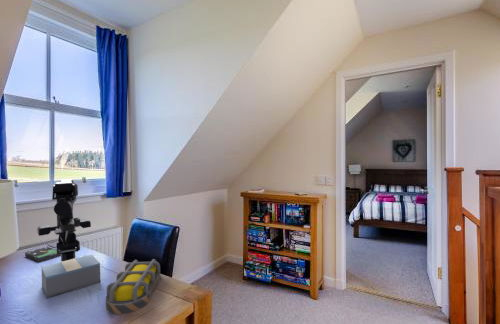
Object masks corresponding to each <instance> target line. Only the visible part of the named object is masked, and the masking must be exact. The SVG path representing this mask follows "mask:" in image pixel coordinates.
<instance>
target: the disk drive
mask: <svg viewBox="0 0 500 324" xmlns="http://www.w3.org/2000/svg"><path fill="white" fill-rule="evenodd" d="M24 256H26V257H25V258H27V257H29V258H28V259H30V258H31V259H30V260H32V261H34V262H37V263H40V262H44V261H47V260H50V258H51V259H55V258H57V256H58V257H61V254H59V255H57V249H55V248H52V247H49V246H45V247H41V248H37V249H35V250H32V251H27V252H26V251H25V252H24Z"/></svg>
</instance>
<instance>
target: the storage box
mask: <svg viewBox="0 0 500 324" xmlns="http://www.w3.org/2000/svg"><path fill="white" fill-rule="evenodd" d="M100 282H101V265H100V266H96V267H93V268H89V269H85V270H81V271H78V272H74V273H70V274H66V275H63V276H59V277H55V278H51V279H48V280H46V279H45V276H44V274H43V271H42V270H41V287H42V290H43V293H44V295H45V298H46V299H51V298H53V297H56V296H59V295H62V294H66V293H68V292H69V293H70V292H73V291H75V290H78V289H79V290H80V289H83V288H85V287H89V286H93V285H95V284H98V283H100Z"/></svg>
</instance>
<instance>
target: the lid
mask: <svg viewBox="0 0 500 324" xmlns="http://www.w3.org/2000/svg"><path fill="white" fill-rule="evenodd" d="M96 266H100V267H101V263H100V261H98V259H97V258H96V257H95V256H94V255H93V254H89V255H85V256H80V257H75V259H70V260H66V261H62V262H61V261H59V262H55V263H50V264H46V265H43V266H40V267H41V272H42V271H43V274H44V276H45V279H46V280H48V279H51V278H55V277H59V276H63V275H66V274H70V273H74V272H78V271H81V270H85V269H89V268H93V267H96Z"/></svg>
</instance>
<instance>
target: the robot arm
mask: <svg viewBox="0 0 500 324" xmlns="http://www.w3.org/2000/svg"><path fill="white" fill-rule="evenodd" d="M77 196H79V188H78V184H76V183H75V182H74V179H72V178H63V179H61V180H60V182H54V185H52V197H51V199H52V201H54V200H55V201H56V202H55V204H54V206H53V212H54V213H55V214H56V225H54V226H50V225H49V224H46V225H40V226H38V227H37V228H36V230H37V231H36V233H37V235H38V236H39V237H41V236H45V235H49V234H50V233H51V232H53V233H54V234H55V235H56V236H58V241H56V250H57V255H59V254H61V256H60V262H62V261H66V260H70V259H76V252H79V251H80V250H81V243H80V240H79V239H78V238H77V234H76V231H77V229H76V228H79V227H81V228H82V229H86V228H91V226H92V224H91V221H90V220H89V219H86V218H85V219H81V218H80V217H74V204H75V203H76V201H77Z"/></svg>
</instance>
